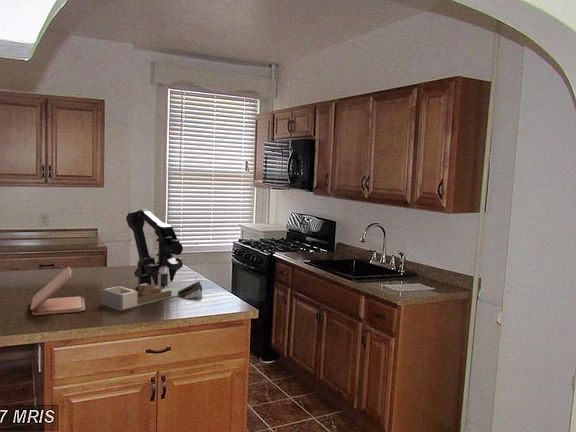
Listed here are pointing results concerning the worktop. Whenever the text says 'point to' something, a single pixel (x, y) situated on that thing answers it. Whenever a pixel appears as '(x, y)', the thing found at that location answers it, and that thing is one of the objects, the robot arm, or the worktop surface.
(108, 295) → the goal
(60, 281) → the case
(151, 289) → the sled
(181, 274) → the worktop surface
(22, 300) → the worktop surface
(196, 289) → the chocolate cake
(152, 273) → the robot arm
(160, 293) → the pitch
